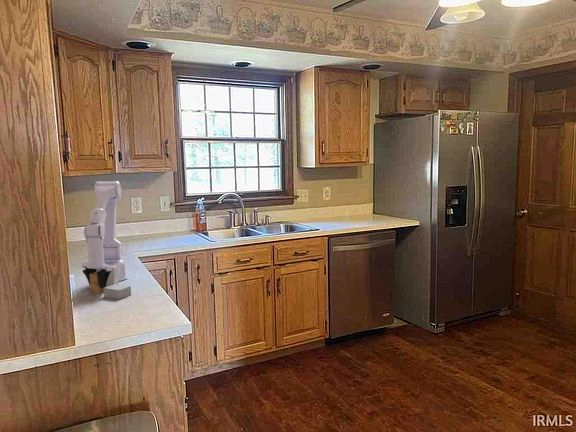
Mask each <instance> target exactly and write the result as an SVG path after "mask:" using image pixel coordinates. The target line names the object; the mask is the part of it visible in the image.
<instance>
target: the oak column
mask: <svg viewBox="0 0 576 432" xmlns="http://www.w3.org/2000/svg"><path fill="white" fill-rule="evenodd" d="M89 276H90V285H89V289H90V290H89V291H90V294H91V293H92V295H97V294H98V295H101V294H104V288H101V287H100V281H99V277H98V275H97V272H95V273H91V274H89Z"/></svg>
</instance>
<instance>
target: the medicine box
mask: <svg viewBox="0 0 576 432" xmlns="http://www.w3.org/2000/svg"><path fill="white" fill-rule="evenodd" d="M111 266H112V270H111V273H110V275H109V277H108V280H107V284H106V287H108V286H111V285H114V284H119V281H118V276H117V265H111ZM98 271H101V270H98V269H97V271H96V272H98Z"/></svg>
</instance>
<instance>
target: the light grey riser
mask: <svg viewBox="0 0 576 432" xmlns="http://www.w3.org/2000/svg"><path fill="white" fill-rule="evenodd" d="M131 295H132V289H131V285H127V284H126V285H125V284H119V283H118V284H114V285H111V286H108V287H105V288H104V293H103V297H105V298H110V299H117V300H121V299H124V298H126V297H128V296H131Z"/></svg>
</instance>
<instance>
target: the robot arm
mask: <svg viewBox="0 0 576 432" xmlns="http://www.w3.org/2000/svg"><path fill="white" fill-rule="evenodd" d="M94 193H95V196H96V204H95V208H94V209H92V210H91V212H90V213H91V214H90V218H89V221H88V224H87V225H84V230H83V235H84V238H85V243H86V245H87V258H88V262H81V269H82V273H83V274H84V276H85V277H86V279H87V282H88V285H89V286H90V276H89V274H91V273H95V272H96V271H97V269H98V270H101V271H98V272H97V275H98V277H99V281H100V287H101V288H105V287H106V284H107V280H108V277H109V275H110V273H111V270H112V266H111V265H117V276H118V282H121V281H124V280H128V277H127V276H126V264H125V262H124V260H123V256H124V249H123V244H122V242H121V241H119V240H118V239H117V236H116V235H117V234H116V233H117V212H118V211H117V210H118V209H117V207H118V203H119V202H120V201H121V200H122V199H121V198H122V185H121V183H120V181H118V180H116V181H95V183H94Z"/></svg>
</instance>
